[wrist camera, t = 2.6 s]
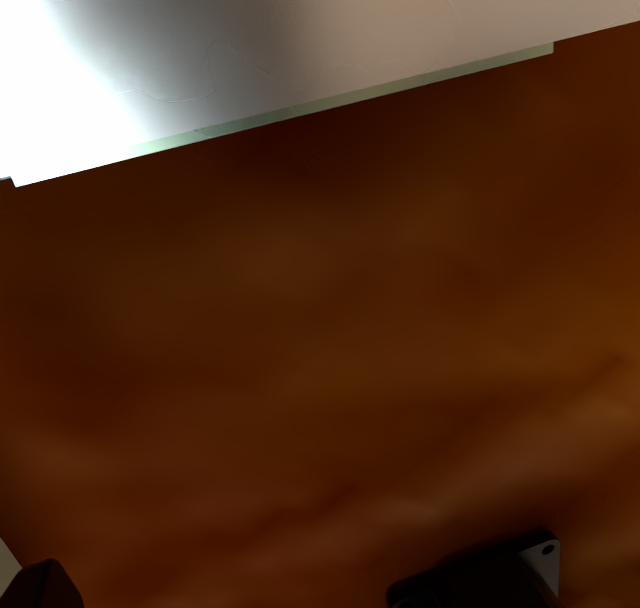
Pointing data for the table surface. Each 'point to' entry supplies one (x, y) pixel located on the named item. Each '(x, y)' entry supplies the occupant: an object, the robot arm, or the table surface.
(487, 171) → the table surface
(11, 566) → the sage green block
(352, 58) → the service unit
